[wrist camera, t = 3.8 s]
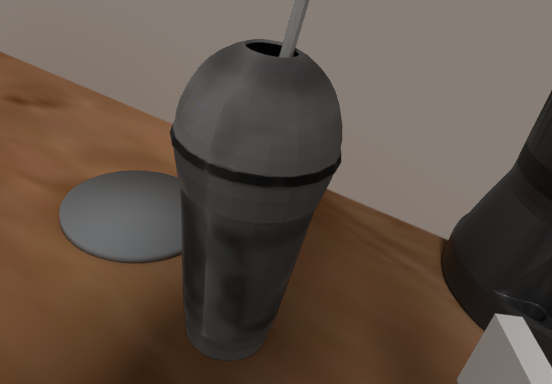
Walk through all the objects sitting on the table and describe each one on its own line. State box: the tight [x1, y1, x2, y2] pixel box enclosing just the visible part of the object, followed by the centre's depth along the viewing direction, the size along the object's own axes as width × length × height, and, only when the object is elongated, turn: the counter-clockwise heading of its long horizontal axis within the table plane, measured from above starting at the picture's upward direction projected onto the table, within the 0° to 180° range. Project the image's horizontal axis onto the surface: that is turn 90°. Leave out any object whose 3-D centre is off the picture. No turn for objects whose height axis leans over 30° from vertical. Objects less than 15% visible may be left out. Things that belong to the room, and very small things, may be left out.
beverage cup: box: [170, 0, 342, 361], centre depth 21 cm, size 7×7×20 cm
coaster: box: [59, 171, 182, 263], centre depth 33 cm, size 10×10×1 cm
